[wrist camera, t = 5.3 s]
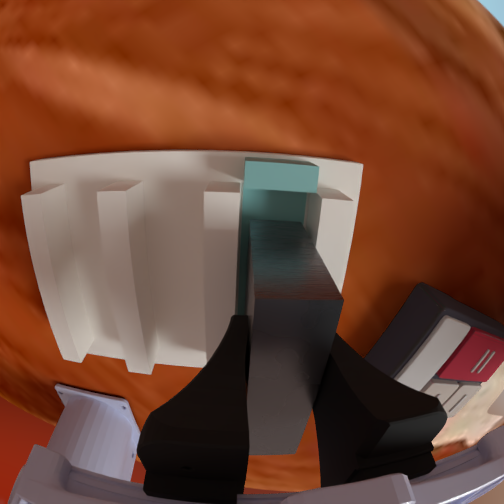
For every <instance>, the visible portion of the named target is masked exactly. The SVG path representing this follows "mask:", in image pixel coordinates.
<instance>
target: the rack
mask: <svg viewBox="0 0 504 504" xmlns="http://www.w3.org/2000/svg"><path fill="white" fill-rule="evenodd" d="M362 171H363V164H361V163H358V162H353V161H346V160H338V159H330V158H321V157H312V156H302V155H291V154H279V153H265V152H248V151H225V150H145V151H123V152H106V153H93V154H82V155H72V156H62V157H54V158H46V159H39V160H35V161H31V162H30V174H31V186H32V191H30V192H27V193H25V194H23V195H21V201H22V208H23V215H24V222H25V228H26V234H27V239H28V244H29V249H30V254H31V258H32V263H33V267H34V271H35V275H36V279H37V283H38V286H39V290H40V294H41V297H42V300H43V304H44V307H45V310H46V313H47V316H48V319H49V322H50V325H51V328H52V331H53V334H54V336H55V339H56V342H57V344H58V347H59V349H60V352H61V354H62V357H63V359H65V360H70V361H74V362H79V363H82V361H83V359H84V357H85V355H86V354H87V353H89V354H95V355H101V356H107V357H113V358H119V359H125V361H126V364H127V368H128V371H129V372H136V373H143V374H151V373H152V370H153V367H154V364H155V363H157V364H167V365H177V366H189V367H204V366H205V365H206V364H207V362H208V361H209V360H210V358H211V357H212V355H213V354H214V352H215V351H216V349H217V348H218V346H219V344H220V342H221V340H222V339H223V337H224V335H225V333H226V331H227V328H228V326H229V323H230V320H231V316H233V315H244V309H245V291H246V273H247V255H248V238H249V220H250V219H260V220H279V221H297V222H301V223H302V225H303V226H304V228H305V230H306V231H307V233H308V235H309V237H310V239H311V240H312V242H313V244H314V246H315V247H316V249H317V251H318V253H319V255H320V256H321V258H322V260H323V262H324V264H325V266H326V267H327V269H328V271H329V273H330V275H331V277H332V278H333V280H334V282H335V284H336V286H337V288H338V290H339V292H340V293H341V291H342V286H343V282H344V277H345V272H346V267H347V262H348V257H349V252H350V247H351V242H352V236H353V231H354V225H355V219H356V213H357V206H358V200H359V193H360V186H361V178H362Z"/></svg>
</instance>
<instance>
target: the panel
mask: <svg viewBox="0 0 504 504" xmlns="http://www.w3.org/2000/svg"><path fill="white" fill-rule="evenodd" d="M343 302H344V299H343V297H342V295H341V293H340V292H339V290H338V288H337V286H336V284H335V282H334V280H333V278H332V277H331V275H330V273H329V271H328V269H327V267H326V266H325V264H324V262H323V260H322V258H321V256H320V255H319V253H318V251H317V249H316V247H315V246H314V244H313V242H312V240H311V239H310V237H309V235H308V233H307V231H306V230H305V228H304V226H303V225H302V223H301V222H297V221H279V220H260V219H250V220H249V238H248V255H247V273H246V291H245V309H244V315H248V326H249V331H248V346H247V360H246V375H245V379H246V398H247V413H248V424H249V441H250V449H249V455H281V454H295V453H296V450H297V448H298V445H299V443H300V440H301V438H302V435H303V432H304V430H305V427H306V424H307V421H308V419H309V416H310V413H311V410H312V407H313V404H314V401H315V399H316V396H317V393H318V389H319V386H320V383H321V380H322V377H323V374H324V371H325V367H326V364H327V361H328V357H329V354H330V350H331V347H332V343H333V340H334V336H335V333H336V329H337V325H338V321H339V318H340V314H341V310H342V306H343Z"/></svg>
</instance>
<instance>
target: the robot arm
mask: <svg viewBox="0 0 504 504" xmlns="http://www.w3.org/2000/svg"><path fill="white" fill-rule="evenodd" d="M248 331H249V326H248V315H233V316H231V320H230V323H229V326H228V328H227V331H226V333H225V335H224V337H223V339H222V340H221V342H220V344H219V346H218V348H217V349H216V351H215V352H214V354H213V355H212V357H211V358H210V360H209V361H208V362H207V364H206V365H205V366H204V367H203V369H202V370H201V371H200V372H199V373H198V374H197V376H196V377H195V378H194V379H193V380H192V381H191V382H190V383H189V384H188V385H187V386H186V387H185V388H183V389H182V390H181V391H180V392H179V393H178V394H176V395H175V396H174V397H173V398H172V399H170V400H169V401H168V402H166V403H165V404H163V405H162V406H160V407H159V408H157V409H156V410H154V411H153V412H151V413H150V415H149V416H148V418H147V420H146V422H145V424H144V426H143V429H142V431H141V433H140V431H139V429H138V426H137V424H136V421H135V419H134V416H133V414H132V411H131V409H130V406H129V403H128V401H127V400H125V399H123V398H118V397H112V396H107V395H102V394H98V393H93V392H89V391H84V390H80V389H76V388H72V387H68V386H64V385H61V384H56V385H55V389H56V391H57V393H58V395H59V397H60V398H61V400H62V402H63V404H64V405H65V408H64V410H63V412H62V414H61V416H60V419H59V421H58V423H57V425H56V427H55V430H54V432H53V434H52V436H51V439H50V441H49V443H48V446H47V448H45V447H42V446H40V445H37V444H35V445H34V446H33V449H32V451H31V453H30V456H29V458H28V460H27V463H26V465H24V466H23V467H22V469H21V471H20V473H19V475H18V477H17V479H16V482H15V484H14V487H13V489H12V492H11V495H10V498H9V501H8V504H468V503H470V502H471V501H473V500H475V499H476V498H478V497H480V496H482V495H483V494H485V493H487V492H488V491H490V490H491V489H492V488H494V487H495V486H497V484H499V483H500V482H502V481H503V480H504V426H500V427H498V428H496V429H494V430H493V431H490V432H489V433H487V434H486V435H485V436H483V437H482V438H481V439H480V440H479V442H478V443H477V445H475V446H472V447H470V448H468V449H466V450H463V451H461V452H459V453H456V454H454V455H452V456H449V457H447V458H444V459H441V460H439V461H436V462H435V461H434V458H433V456H432V454H431V451H433V449H434V447H433V445H432V442H431V441H432V440H433V439H434V438H435V437H436V435H437V434H438V433H439V432H440V431H441V429H442V428H443V427H444V425H445V423H446V421H447V418H448V417H447V413H446V411H445V409H444V408H443V406H442V404H441V402H440V401H439V399H438V398H437V397H434V396H431V395H428V394H425V393H423V392H420V391H417V390H415V389H413V388H411V387H408V386H406V385H404V384H402V383H400V382H398V381H396V380H395V379H393V378H391V377H390V376H388V375H386V374H384V373H383V372H381V371H380V370H378V369H377V368H376V367H374V366H373V365H371V364H370V363H369V362H367V361H366V360H365V359H364V358H362V357H361V356H360V355H359V354H358V353H357V352H356V351H354V350H353V349H352V348H351V347H350V346H349V345H348V344H347V343H346V342H345V341H344V340H343V339H342V338H341V337H340V336H339V335H338V334H337V333H335V336H334V340H333V343H332V347H331V350H330V354H329V357H328V361H327V364H326V367H325V371H324V374H323V377H322V380H321V383H320V386H319V389H318V393H317V396H316V399H315V401H314V404H313V407H312V409H313V413H314V418H315V424H316V432H317V440H318V449H319V461H320V476H321V488H317V489H312V490H306V491H302V492H294V493H279V494H243V492H244V485H245V481H246V473H247V465H248V457H249V449H250V441H249V424H248V413H247V398H246V379H245V375H246V360H247V346H248ZM136 454H137V455H138V457H139V458H140V460H141V462H142V464H143V466H144V468H145V469H146V475H145V480H144V484H139V483H134V482H130V479H131V475H132V471H133V466H134V462H135V458H136Z"/></svg>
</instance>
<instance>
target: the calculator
mask: <svg viewBox="0 0 504 504" xmlns="http://www.w3.org/2000/svg"><path fill="white" fill-rule="evenodd" d="M364 359H365V360H366V361H367V362H369V363H370V364H371V365H373V366H374V367H376V368H377V369H378V370H380V371H381V372H383V373H384V374H386V375H388V376H390V377H391V378H393V379H395V380H396V381H398V382H400V383H402V384H404V385H406V386H408V387H411V388H413V389H415V390H417V391H420V392H423V393H425V394H428V395H431V396H434V397H437V398H438V399H439V401H440V402H441V404H442V406H443V408H444V409H445V411H446V413H447V417H448V418H449V417H453V416H454V415H456V414H457V413H458V412H459V411H460V410H461V409H462V408H463V407H464V406H465V405H466V403H467V402H468V401H469V400H470V399H471V398H472V397H473V396H474V395H475V394H476V393H477V392H478V391H479V390H480V388H481V385H480V384H481V383H482V382H486V381H487V380H488V379H489V378H490V377H491V376H492V375H493V373H494V372H495V371H496V370H497V368H498V367H499V366H500V365H501V363H502V362H503V361H504V326H503V325H502V324H501V323H499V322H497V321H496V320H494V319H492V318H490V317H488V316H486V315H484V314H483V313H481V312H479V311H477V310H475V309H473V308H471V307H468V306H466V305H464V304H462V303H460V302H458V301H456V300H455V299H453V298H452V297H450V296H449V295H447V294H445V293H443V292H441V291H439V290H437V289H435V288H433V287H431V286H429V285H427V284H425V283H419V284H417V285H416V287H415V288H414V290H413V291H412V293H411V294H410V296H409V297H408V299H407V300H406V302H405V303H404V305H403V306H402V308H401V309H400V311H399V312H398V314H397V315H396V316H395V318H394V319H393V321H392V322H391V324H390V325H389V326H388V328H387V329H386V330H385V332H384V333H383V335H382V336H381V337H380V339H379V340H378V341H377V342H376V344H375V345H374V346H373V348H372V349H371V350H370V352H369V353H368V354H367V355H366V357H365V358H364Z"/></svg>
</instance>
